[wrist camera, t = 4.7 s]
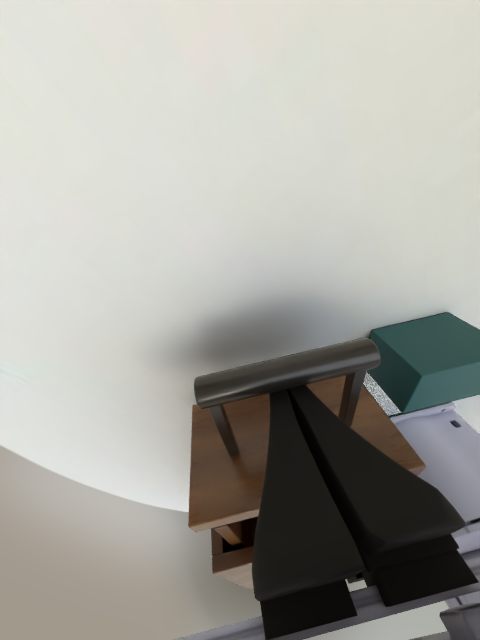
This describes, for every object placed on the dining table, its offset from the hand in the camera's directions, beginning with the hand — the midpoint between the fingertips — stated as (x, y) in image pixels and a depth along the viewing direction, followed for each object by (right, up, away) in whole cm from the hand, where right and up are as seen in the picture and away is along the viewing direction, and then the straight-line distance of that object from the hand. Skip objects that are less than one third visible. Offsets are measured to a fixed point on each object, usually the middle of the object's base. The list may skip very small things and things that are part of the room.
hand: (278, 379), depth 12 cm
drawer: (+1, -5, +7) cm, 9 cm away
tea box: (+11, +2, +5) cm, 12 cm away
